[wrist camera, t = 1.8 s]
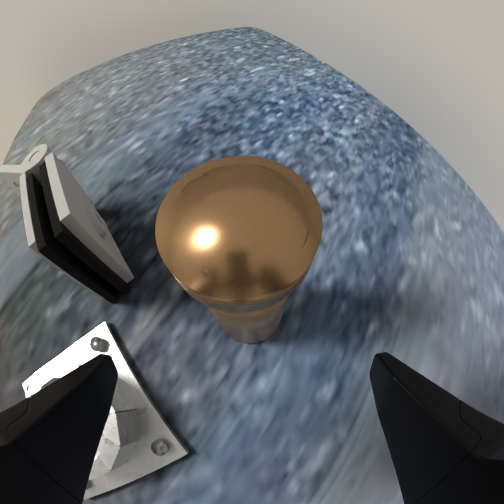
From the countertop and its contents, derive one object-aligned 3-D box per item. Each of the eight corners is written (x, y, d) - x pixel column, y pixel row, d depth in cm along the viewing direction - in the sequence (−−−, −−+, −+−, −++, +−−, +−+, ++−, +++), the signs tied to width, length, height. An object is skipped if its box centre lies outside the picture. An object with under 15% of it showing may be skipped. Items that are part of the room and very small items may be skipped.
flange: (189, 451, 16) (176, 464, 13) (87, 497, 13) (65, 508, 10) (108, 323, 20) (85, 311, 17) (26, 384, 17) (0, 380, 14)
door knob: (301, 319, 20) (356, 229, 9) (242, 363, 19) (215, 337, 7) (256, 266, 22) (253, 137, 11) (200, 306, 21) (131, 207, 9)
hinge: (49, 226, 25) (-3, 170, 16) (82, 192, 27) (38, 128, 18) (112, 312, 21) (34, 261, 12) (154, 266, 23) (99, 192, 13)
